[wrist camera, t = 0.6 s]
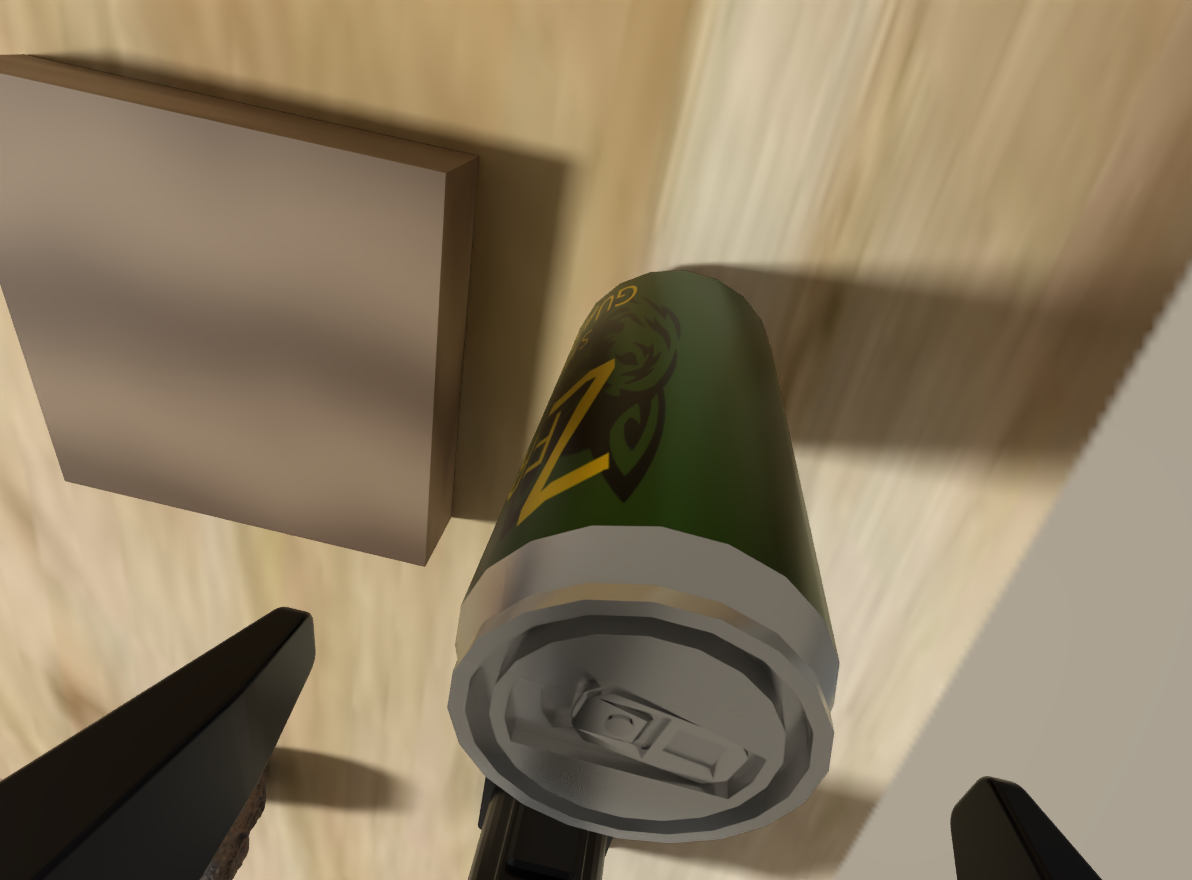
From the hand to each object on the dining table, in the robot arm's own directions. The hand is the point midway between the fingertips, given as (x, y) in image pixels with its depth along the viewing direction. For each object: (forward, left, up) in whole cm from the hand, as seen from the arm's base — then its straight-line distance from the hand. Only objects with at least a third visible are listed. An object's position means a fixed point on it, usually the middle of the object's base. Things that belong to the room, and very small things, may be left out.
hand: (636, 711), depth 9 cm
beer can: (0, 0, -12) cm, 12 cm away
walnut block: (-2, +12, -12) cm, 17 cm away
